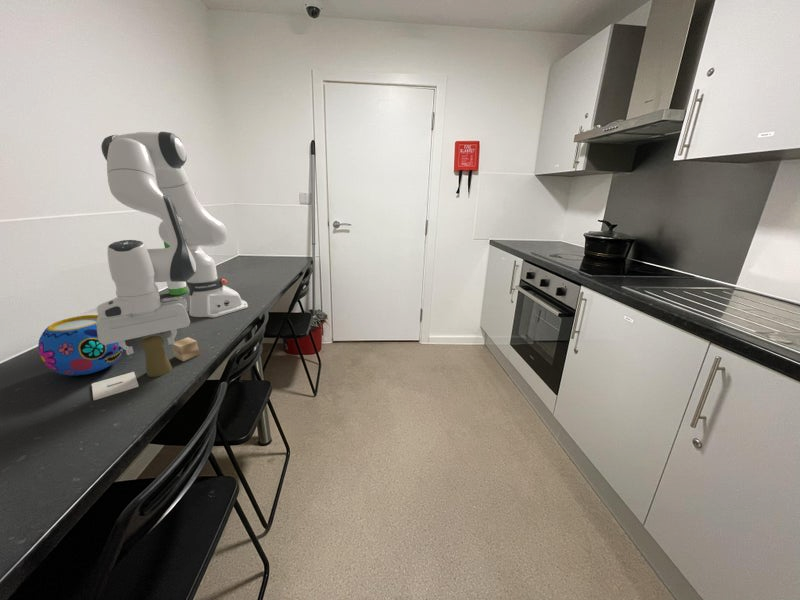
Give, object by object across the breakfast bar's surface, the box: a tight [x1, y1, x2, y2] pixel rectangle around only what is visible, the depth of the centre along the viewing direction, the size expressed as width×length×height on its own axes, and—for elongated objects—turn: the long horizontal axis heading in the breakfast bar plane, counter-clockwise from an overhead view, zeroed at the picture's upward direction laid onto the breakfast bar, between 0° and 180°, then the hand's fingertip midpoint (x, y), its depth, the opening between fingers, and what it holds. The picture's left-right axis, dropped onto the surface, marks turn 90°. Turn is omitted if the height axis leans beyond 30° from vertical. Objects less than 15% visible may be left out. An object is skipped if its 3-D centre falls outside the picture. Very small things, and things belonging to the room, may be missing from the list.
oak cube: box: [171, 336, 201, 362], centre depth 102 cm, size 5×5×5 cm
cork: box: [140, 334, 173, 378], centre depth 93 cm, size 6×6×11 cm
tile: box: [91, 371, 140, 401], centre depth 87 cm, size 9×9×1 cm
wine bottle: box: [163, 241, 188, 297], centre depth 156 cm, size 8×8×30 cm
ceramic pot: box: [37, 314, 128, 376], centre depth 92 cm, size 18×18×15 cm
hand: (151, 348), depth 91 cm, fingers open, 8 cm apart
